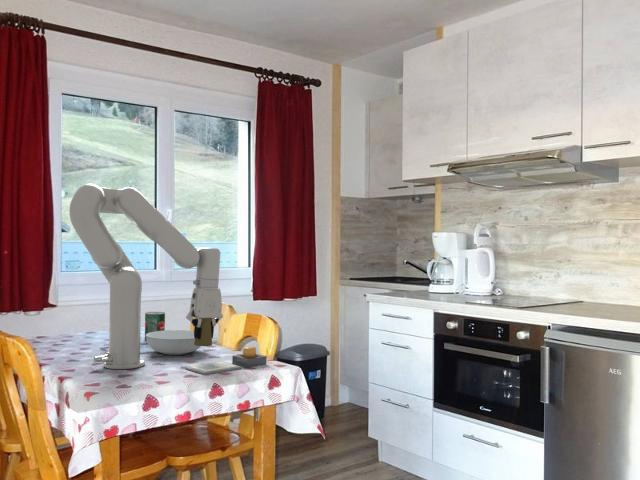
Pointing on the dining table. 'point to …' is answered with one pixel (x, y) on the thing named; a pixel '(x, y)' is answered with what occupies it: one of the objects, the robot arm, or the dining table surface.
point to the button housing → (249, 360)
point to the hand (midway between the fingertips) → (203, 337)
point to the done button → (249, 352)
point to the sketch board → (213, 368)
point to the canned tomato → (154, 322)
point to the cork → (205, 333)
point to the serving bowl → (172, 342)
